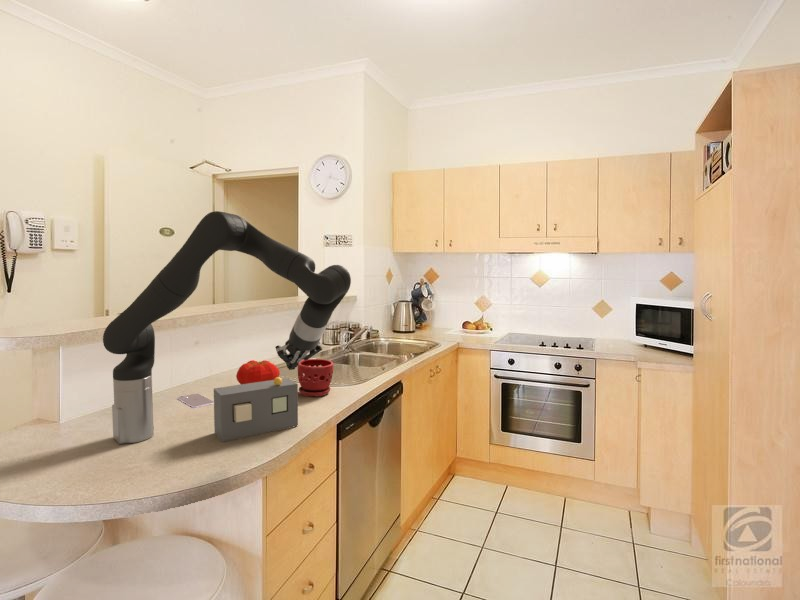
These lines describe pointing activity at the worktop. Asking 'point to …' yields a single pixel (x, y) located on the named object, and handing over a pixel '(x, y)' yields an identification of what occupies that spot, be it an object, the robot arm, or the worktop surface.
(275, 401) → the key sage
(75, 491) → the worktop surface
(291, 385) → the keypad console
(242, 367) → the tomato
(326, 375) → the plant pot
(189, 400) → the mobile phone
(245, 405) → the block
